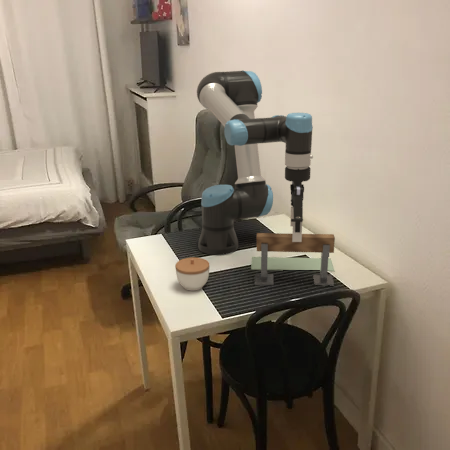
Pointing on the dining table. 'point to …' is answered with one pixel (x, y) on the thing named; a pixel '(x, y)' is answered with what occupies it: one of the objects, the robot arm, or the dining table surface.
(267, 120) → the robot arm
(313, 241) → the walnut bar
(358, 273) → the dining table surface
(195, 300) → the dining table surface
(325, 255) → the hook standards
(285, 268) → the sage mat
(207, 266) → the lidded jar
